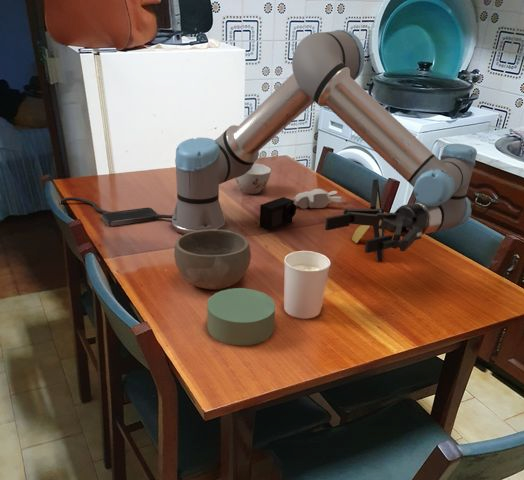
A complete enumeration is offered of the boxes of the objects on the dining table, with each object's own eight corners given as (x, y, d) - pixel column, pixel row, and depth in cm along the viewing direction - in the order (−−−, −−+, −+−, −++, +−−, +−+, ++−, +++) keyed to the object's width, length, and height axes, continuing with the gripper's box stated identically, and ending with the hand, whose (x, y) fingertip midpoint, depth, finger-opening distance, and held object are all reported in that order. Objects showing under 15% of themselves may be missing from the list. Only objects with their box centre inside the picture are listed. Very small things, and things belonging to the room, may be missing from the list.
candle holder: (328, 303, 125) (335, 255, 118) (318, 324, 117) (324, 274, 110) (287, 295, 127) (291, 247, 121) (274, 315, 120) (278, 265, 113)
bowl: (181, 262, 139) (180, 224, 133) (251, 266, 139) (252, 229, 133) (169, 295, 125) (167, 254, 119) (247, 299, 125) (249, 259, 119)
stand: (195, 334, 112) (194, 311, 109) (225, 304, 122) (225, 282, 119) (258, 352, 108) (259, 329, 104) (283, 319, 118) (285, 297, 115)
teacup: (275, 195, 184) (277, 171, 179) (241, 199, 179) (241, 174, 175) (258, 182, 195) (259, 159, 191) (225, 184, 191) (225, 161, 186)
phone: (158, 216, 160) (107, 222, 154) (159, 219, 161) (108, 226, 155) (150, 207, 166) (100, 213, 160) (150, 210, 167) (101, 216, 160)
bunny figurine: (291, 189, 178) (335, 183, 180) (291, 204, 181) (335, 198, 183) (298, 199, 170) (344, 193, 172) (298, 215, 173) (344, 208, 175)
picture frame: (382, 261, 145) (385, 206, 137) (348, 260, 147) (349, 206, 139) (383, 229, 164) (387, 179, 156) (353, 229, 166) (355, 179, 157)
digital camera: (272, 233, 157) (274, 209, 153) (258, 227, 160) (260, 204, 156) (295, 224, 164) (297, 201, 160) (281, 218, 167) (283, 196, 163)
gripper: (382, 187, 134) (313, 199, 124) (462, 222, 117) (388, 239, 107) (377, 217, 138) (310, 231, 128) (453, 254, 121) (382, 274, 111)
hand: (345, 235), depth 118 cm, fingers open, 13 cm apart
